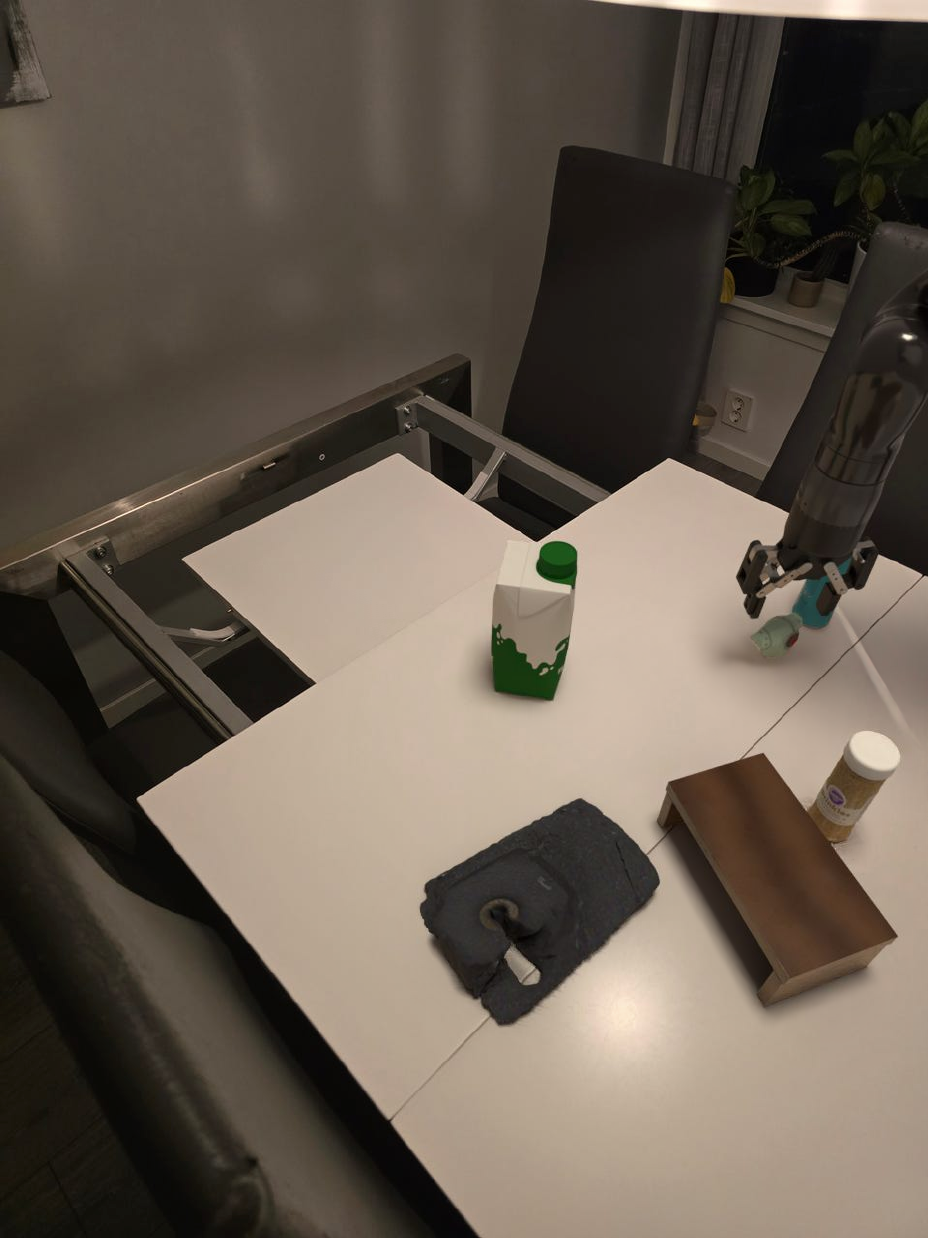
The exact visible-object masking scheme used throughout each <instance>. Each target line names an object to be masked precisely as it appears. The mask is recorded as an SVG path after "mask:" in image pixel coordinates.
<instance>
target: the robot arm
mask: <svg viewBox="0 0 928 1238" xmlns="http://www.w3.org/2000/svg"><path fill="white" fill-rule="evenodd" d="M927 400H928V267H927V268H926V269H924V270H923V271H922V272H921V273H919V274H918V275H917V276H916V277H914V278H913V279H912V280H910V281H909V282H908V283H907V284H905V285H904V286H903V287H902V288H901V289H900V290H898V291H897V292H896V293H895V294H894V295H893V296H892V297H890V299H888V300H887V301H886V302H885V303H884V304H883V305H881V307H880V308H879V309H878V310H877V311H876V312H875V313H874V314H873V315H872V316H871V318H870V319H869V320H868V322H867V323H866V324H865V326H864V328H863V330H862V332H861V335H860V337H859V339H858V342H857V345H856V348H855V350H854V353H853V356H852V358H851V362H850V364H849V366H848V370H847V372H846V376H845V379H844V382H843V385H842V387H841V391H840V393H839V397H838V400H837V402H836V406H835V410H834V412H833V413H832V414H831V415H830V418H829V419H828V421H827V423H826V426H825V428H824V430H823V432H822V435H821V437H820V441H819V443H818V445H817V448H816V450H815V453H814V456H813V458H812V460H811V462H810V463H809V465H808V467H807V468H806V470H805V472H804V474H803V477H802V479H801V481H800V484H799V487H798V489H797V492H796V495H795V498H794V500H793V502H792V505H791V508H790V510H789V513H788V515H787V518H786V521H785V524H784V528H783V534H782V537H781V539H780V540H779V541H778V542H777V543H775V545H770V544H769V545H768V544H767V545H764V544H762V542H761V541H760V539H754V540H752V541H751V542H750V543H749V545H748V548H747V550H746V552H745V555H744V557H743V558H742V562H741V563H740V566H739V568H738V571H737V573H736V576H735V579H736V581H737V583H738V586H739V588H740V590H741V592H742V593H743V595H746V596H745V598H744V600H743V608H744V610H745V612H746V615H747V616H749V618H750V619H751V620H757V619H759V618H760V616H761V612H762V610H763V608H764V605H765V602H766V600H767V595H769V594H770V593H772V592H773V591H774V590H776V589H783V588H785V586H786V585H788V584H790V583H791V582H796V581H803V580H806V579H811V580H820V578H821V577H824V576H826V575H827V577H828V578H829V580H830V582H825V584H824V586H823V588H822V591H821V593H820V595H819V597H818V599H817V601H816V608H817V610H818V612H819V614H820V615H821V616H829V614H830V612H832V611H833V610H834V609H836V608H837V606H838V604H839V602H840V600H841V598H842V596H843V595H844V594H847V592H848V590H851V589H854V590H855V591H860V590H862V589H864V588H865V586H866V584H867V582H868V580H869V578H870V575H871V574H872V571H873V568H874V566H875V564H876V562H877V559H878V557H879V555H880V551H879V550H878V549H877V546H876V545H875V544H874V542H873V541H872V540H871V538H870V537H869V536H868V535H867V536H862V535H863V533H864V531H865V529H866V528H867V525H868V523H869V521H870V518H871V517H872V516H873V515H872V514H873V513H874V511H875V508H876V506H877V504H878V502H879V500H880V498H881V495H882V492H883V489H884V486H885V482H886V479H887V477H888V474H889V472H890V471H891V468H892V466H893V464H894V462H895V460H896V458H897V455H898V454H899V453H900V450H901V447H902V444H903V441H904V438H905V437H906V433H907V432H908V430H909V429H910V427H911V426H912V424H913V423H914V422H915V419H916V418H917V416H918V415H919V413H920V411H921V410H922V408H923V406H924V404H925V403H926V401H927ZM860 537H861V538H860ZM851 556H852V559H851V561H850V563H849V566H848V568H847V571H846V574H842V575H841V574H840V572H839V570H838V569H837V567H839V566H840V565H841V564H843V563H844V562H845V561H847V560H848V559H849V558H850V557H851ZM779 567H781V569H782V570H783V573H782V574H779V571H778V569H779ZM767 579H768V580H767ZM766 580H767V581H766ZM765 581H766V582H765ZM764 582H765V583H764ZM834 611H835V610H834Z"/></svg>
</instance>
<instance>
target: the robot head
mask: <svg viewBox="0 0 928 1238" xmlns="http://www.w3.org/2000/svg"><path fill="white" fill-rule="evenodd" d="M802 625H803V624H802V618H801V617H800V616H799V615H797V614H796V613H793V614H792V613H789V614H784V615H783V614H782V615H776V616H773V617H771V618H770V619H768V620H767V621H765V622H764V624H763V625H762V626H761V627H760V628H759V629H758V630H757V631H755V632H754V633H753V634H751V635H750V636H749V639H750V640H751V641H752V642H753V643H754V645H755V647H757V648H758V650H759V652H760V654H761V655H762V656H763V657H764V658H765V659H775V658H778V657H781V656H782V655H784V654H787V652H788V651H790V650H791V649H793V647H795V644H796V643H797V642H798V641H799V637H800V630H801V628H802Z"/></svg>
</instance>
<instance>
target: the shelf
mask: <svg viewBox="0 0 928 1238" xmlns="http://www.w3.org/2000/svg"><path fill="white" fill-rule="evenodd" d="M662 801H663V802H662V805H661V808H660V810H659V813H658V816H657V818H656V822H657V823H658V824H659V827H660V828H661V830H666V829H668V828H671V827H675V826H678V825H681V824H684V823H685V825H686V826H687V828H688V829H689V831H690V833H691V834H692V836H693V838H694V839H695V841H696V843H697V844H698V846H699V848H700V850H701V851H702V853H703V855H704V856H705V858H706V859H707V861H708V863H709V864H710V866H711V868H712V869H713V871H714V872H715V875H716V877H717V878H718V880H719V881H720V883H721V885H722V886H723V888H724V889H725V892H727V894H728V896H729V898H730V899H731V900H732V903H733V905H734V906H735V907H736V910H738V913H739V914H740V916H741V917H742V919H743V921H744V922H745V924H746V926H747V928H748V929H749V931H750V932H751V933H752V935H753V937H754V939H755V941H756V943H757V945H758V946H759V947H760V949H761V950H762V952H763V954H764V956H765V957H766V959H767V960H768V962H769V964H770V965H771V967H772V969H773V970H772V972H771V973H770V975H769V976H768V977H767V979H766V980H765V981H764V983H763V984H762V985H761V987H760V988H759V990H758V991H757V993H756V995H757V996H758V999H759V1000H760V1002H761V1004H762V1005H763V1007H767V1006H769V1005H772V1004H775V1003H777V1002H780V1001H782V1000H785V999H787V998H790V997H791V996H795V995H797V994H800V993H802V992H806V991H808V990H810V989H813V988H816V987H818V986H821V985H823V984H825V983H828V982H831V981H833V980H835V979H838V978H841V977H843V976H845V975H848V974H851V973H854V972H856V971H858V970H861V969H863V968H866V967H868V966H869V965H870V964H871V962H872V961H874V959H875V958H876V957H877V956H878V955H879V954H880V953H881V952H882V951H883V949H885V948H886V946H889V945H892V944H893V943H894V942H895V941H896V940H897V939H898V938H899V935H898V934H897V932H896V931H895V930H894V928H893V927H892V926H891V924H890V923H889V921H888V920H887V919H886V917H885V916H884V915H883V913H882V912H881V910H880V909H879V908H878V906H877V905H876V904H875V902H874V901H873V900H872V898H871V897H870V896H869V894H868V893H867V892H866V890H865V889H864V887H863V885H861V884H860V882H859V881H858V879H857V878H856V877H855V875H854V873H852V871H851V870H850V868H849V867H848V865H847V864H846V863H845V862H844V860H843V859H842V857H841V856H840V854H839V853H838V852H837V851H836V849H835V847H834V846H833V845H832V844H831V842H830V841H828V840H827V838H826V837H825V836H824V834H823V833H822V832H821V830H820V829H819V828H818V826H817V825H816V824H815V822H814V821H813V819H812V818H811V817H810V815H809V814H808V813H807V811H808V810H806V808H805V807H804V806H803V804H802V803H801V802H800V800H799V799H798V797H797V796H796V795H795V793H794V792H793V790H792V789H791V788H790V787H789V785H788V784H787V783H786V781H785V779H783V777H782V776H781V774H780V773H779V772H778V770H777V769H776V768H775V766H774V765H773V764H772V762H771V761H770V759H769V758H768V757H767V755H766V754H765V753H764V752H760V753H757V754H755V755H750V756H748V757H744V758H742V759H738V760H734V761H731V762H728V763H725V764H721V765H718V766H715V767H712V768H709V769H706V770H703V771H699V772H696V773H692V774H689V775H686V776H683V777H680V778H676V779H673V780H670V781H667V784H666V788H665V794H664V798H663V800H662Z"/></svg>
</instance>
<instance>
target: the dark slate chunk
mask: <svg viewBox="0 0 928 1238" xmlns="http://www.w3.org/2000/svg"><path fill="white" fill-rule="evenodd" d="M660 884H661V880H660V875H659V873H658V871H657V869H656V866H654V864H653V863H652V862H651V860H650V857H649V856H648V855H647V854H646V853H645V852H644V851H643V850H642V849H641V847H640V846H639V844H638V843H637V842H636V841H635V840H634V839H633V838H631V836H630V835H629V834H628V833H627V832H626V831H625V830H624V829H623V828H622V827H621V826H620V825H619V824H618V823H617V822H616V821H614V820H613V819H611V818H610V817H609V816H607V815H605V814H604V812H603V811H602V810H601V809H600V808H599V807H598V806H596V805H594V804H593V803H590V802H588V801H587V800H586V799H584V798H582V797H579V798H576V799H574V800H572V801H569V803H566V804H563V805H561V806H559V807H558V808H556V809H555V810H553V812H552V813H550V814H548V815H544V816H541V817H540V818H539V819H535V820H533V821H532V822H531V823H530V824H527V825H525V826H523V827H521V828H519V829H518V830H514V831H513V832H510V834H508V835H506V836H504V837H502V838H501V839H500V840H498V841H497V842H494V843H493V842H492V843H491V844H490V845H489V846H488V847H486V848H484V849H482V850H479V851H478V852H476V853H475V854H473V855H472V856H470V857H468V858H466V859H465V860H464V861H462V862H460V863H458V864H455V865H453V866H452V867H451V868H450V869H447V870H445V871H443V872H442V873H440V874H438V875H437V876H436V877H434V878H430V879H429V880H428V881H427V882H426V883H424V890H425V891H426V898H425V899H424V900H423V901H422V902H420V903H419V905H420V907H419V909H420V913H421V916H422V917H423V922H424V925H425V926H426V927H427V928H428V932H429V933H431V934H433V935H434V936H435V938H436V939H438V940H439V944H440V947H441V949H442V951H443V954H444V956H445V958H446V960H447V961H448V963H449V964H450V965H451V967H452V969H453V970H454V971H455V973H457V976H459V978H460V980H461V981H462V983H463V984H464V986H465V987H466V989H469V990H472V991H473V995H474V996H475V997H478V996H480V995H481V996H480V997H481V1000H482V1003H483V1006H485V1007H489V1009H490V1012H491V1014H493V1015H494V1016H496V1019H497V1021H498V1022H500V1023H505V1022H513V1021H515V1020H517V1019H518V1018H519V1017H520V1016H521V1014H523V1013H525V1012H527V1011H528V1010H530V1009H531V1008H533V1007H534V1006H535V1005H536V1003H538V1001H539V1000H540V999H542V998H543V997H544V996H545V995H546V994H547V993H548V992H550V991H552V990H553V989H554V988H555V986H557V985H558V984H559V983H561V982H562V981H563V980H564V979H565V978H566V977H568V974H569V973H571V972H573V971H574V970H575V968H577V967H578V966H579V964H580V963H581V962H583V961H584V960H585V958H586V956H588V955H590V954H593V953H594V951H595V950H596V948H598V947H599V946H600V945H601V944H603V943H604V942H606V941H607V940H608V939H609V938H610V937H611V935H612V933H614V931H615V928H617V927H619V926H621V924H623V922H624V921H625V920H626V918H627V917H629V916H630V915H631V914H632V913H633V912H634V911H635V909H636V908H637V907H638V906H640V904H642V903H644V902H645V903H646V902H647V901H648V900H649V899H650V898H652V896H653V895H654V892H655V891H656V890H657V889H658V887H659V886H660ZM507 936H510V937H512V938H514V941H515V946H516V947H517V948H518V950H519V951H520V952H521V953H522V954H524V956H526V957H527V958H528V959H529V961H531V962H532V963H533V964H534V965H535V966H536V967H537V968H538V969H539V970H540V972H541V974H540V978H539V980H538V982H536V983H531V984H530V983H529V984H523V983H522V982H521V981H520V979H519V977H518V976H517V975H516V973H515V972H514V971H513V970H512V968H511V967H510V966H509V962H508V960H507V958H505V955H507V953H508V951H509V950H510V948H511V946H512V943H511V942H510V940H509V939H508V938H507Z"/></svg>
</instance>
